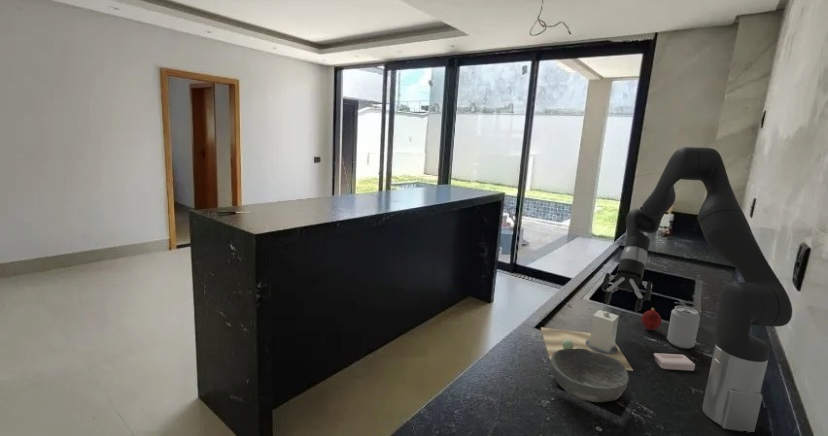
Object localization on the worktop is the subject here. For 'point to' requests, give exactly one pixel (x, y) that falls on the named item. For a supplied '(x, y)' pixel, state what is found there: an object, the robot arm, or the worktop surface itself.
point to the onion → (651, 319)
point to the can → (683, 327)
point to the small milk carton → (603, 330)
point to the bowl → (589, 374)
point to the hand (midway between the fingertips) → (621, 307)
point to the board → (578, 344)
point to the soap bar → (673, 361)
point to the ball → (567, 344)
